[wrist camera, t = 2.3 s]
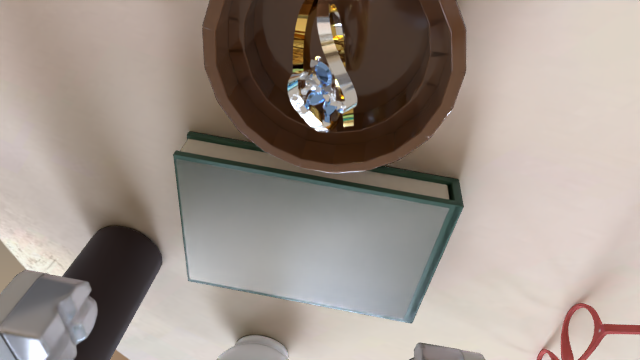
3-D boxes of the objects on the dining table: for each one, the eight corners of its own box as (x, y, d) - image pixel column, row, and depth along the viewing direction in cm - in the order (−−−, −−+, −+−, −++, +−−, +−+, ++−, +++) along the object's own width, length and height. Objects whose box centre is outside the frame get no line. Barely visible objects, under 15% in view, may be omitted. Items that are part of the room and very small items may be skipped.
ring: (304, -23, 24) (271, 27, 18) (362, -28, 23) (350, 21, 17) (318, 92, 28) (296, 165, 22) (368, 90, 28) (360, 164, 21)
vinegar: (176, 269, 43) (50, 516, 27) (120, 275, 45) (-28, 509, 29) (140, 219, 39) (-31, 472, 24) (80, 228, 41) (-113, 467, 26)
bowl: (490, -75, 22) (510, -55, 18) (420, 144, 30) (424, 190, 26) (229, -116, 22) (194, -105, 18) (232, 111, 31) (208, 151, 27)
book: (459, 179, 32) (464, 206, 29) (411, 295, 40) (412, 323, 38) (189, 131, 32) (172, 154, 30) (199, 255, 41) (187, 281, 39)
